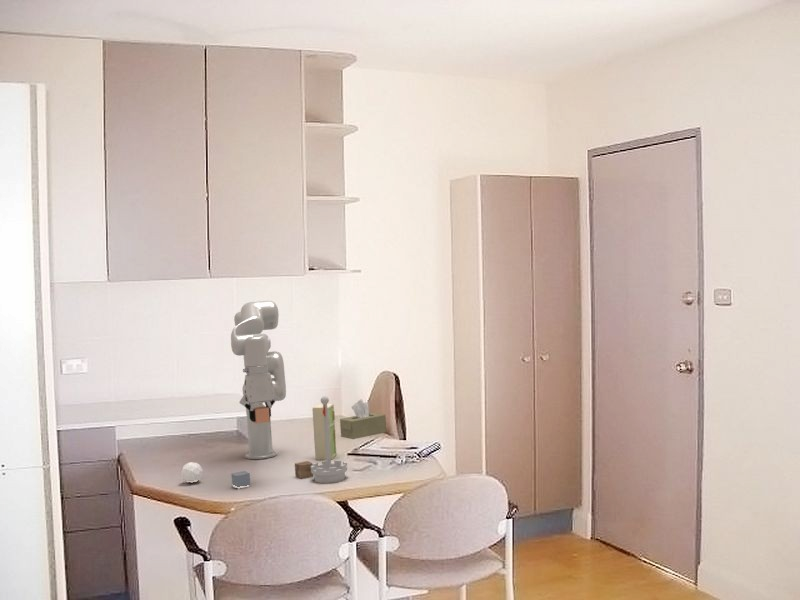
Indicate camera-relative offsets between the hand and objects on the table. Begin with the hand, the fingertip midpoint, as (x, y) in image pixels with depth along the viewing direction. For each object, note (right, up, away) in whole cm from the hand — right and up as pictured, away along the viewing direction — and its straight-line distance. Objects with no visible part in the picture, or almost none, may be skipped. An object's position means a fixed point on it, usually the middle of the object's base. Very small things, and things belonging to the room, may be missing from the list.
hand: (260, 419), depth 328 cm
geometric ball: (-26, -24, +4) cm, 35 cm away
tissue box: (+34, -17, +76) cm, 85 cm away
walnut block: (+16, -21, +3) cm, 27 cm away
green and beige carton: (+22, -20, +32) cm, 43 cm away
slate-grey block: (-6, -23, -6) cm, 25 cm away
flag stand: (+25, -21, -3) cm, 33 cm away
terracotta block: (0, -1, 0) cm, 1 cm away
